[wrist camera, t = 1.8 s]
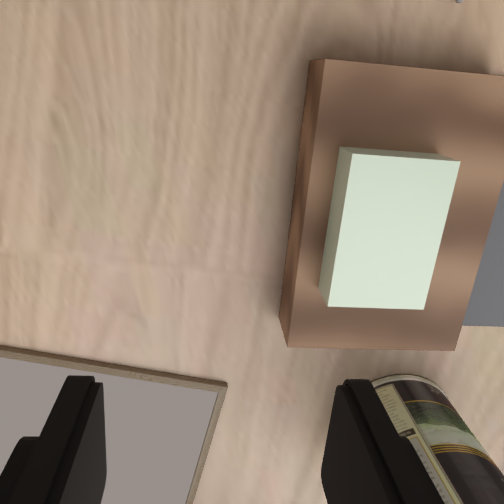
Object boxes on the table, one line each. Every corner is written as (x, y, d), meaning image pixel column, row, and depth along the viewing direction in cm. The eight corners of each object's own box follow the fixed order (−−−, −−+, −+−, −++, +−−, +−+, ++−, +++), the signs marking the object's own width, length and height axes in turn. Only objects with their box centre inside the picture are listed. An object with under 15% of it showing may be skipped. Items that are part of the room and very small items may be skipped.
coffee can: (448, 361, 37) (577, 516, 24) (451, 453, 41) (563, 630, 28) (326, 387, 37) (390, 557, 24) (340, 477, 41) (402, 666, 28)
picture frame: (227, 379, 37) (-162, 313, 32) (227, 387, 36) (-174, 321, 31) (177, 544, 43) (-153, 510, 38) (177, 554, 42) (-162, 521, 37)
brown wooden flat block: (309, 60, 28) (325, 58, 24) (491, 78, 29) (532, 79, 26) (278, 317, 34) (287, 347, 31) (429, 321, 36) (454, 350, 32)
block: (339, 146, 26) (352, 153, 24) (438, 153, 27) (460, 161, 24) (318, 288, 29) (327, 306, 27) (407, 291, 30) (423, 309, 28)
